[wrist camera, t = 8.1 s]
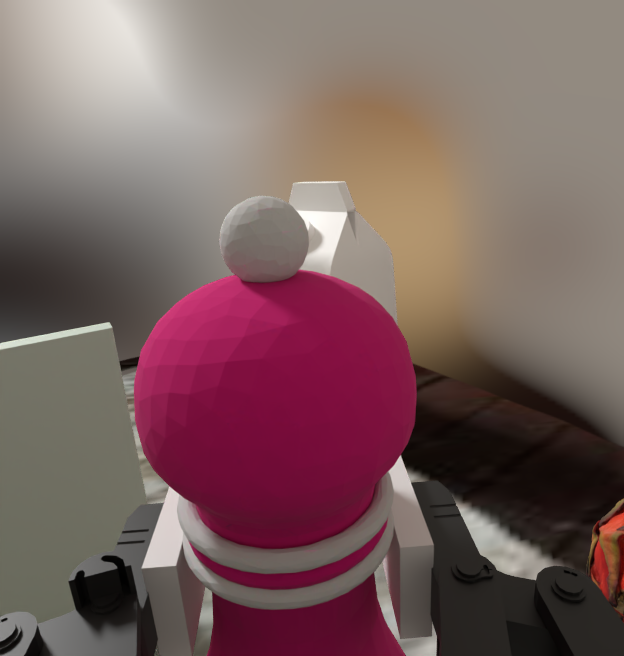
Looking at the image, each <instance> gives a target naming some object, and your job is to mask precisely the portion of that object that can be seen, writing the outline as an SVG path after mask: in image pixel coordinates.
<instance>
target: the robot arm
mask: <svg viewBox="0 0 624 656" xmlns="http://www.w3.org/2000/svg"><path fill="white" fill-rule="evenodd" d="M388 472H389V474H390V476H391V480H392V484H393V489H394V497H393V503H392V507H391V508H392V513H393V517H394V533H393V538H392V542H391V545H390V548H389V550H388V552H387V554H386V556H385V558H384V560H383V561H382V562H383V566H384V570H385V574H386V579H387V583H388V587H389V592H390V596H391V600H392V605H393V609H394V613H395V618H396V622H397V626H398V630H399V635H400V639H405V638H417V637H429V636H432V622H433V625H434V628H435V632H436V635H437V656H624V623H623V622H622V620H621V619H620V617H619V616H618V614H617V613H616V612H615V610H614V609H613V607H612V606H611V604H610V603H609V601H608V600H607V599H606V597H605V596H604V594H603V593H602V591H601V590H600V588H599V587H598V586H597V585H596V584H595V583H594V582H593V581H592V580H591V579H590V578H589V577H588V576H586V575H584V574H583V573H581V572H580V571H577V570H574V569H571V568H568V567H562V566H552V567H548V568H544V569H543V570H542V571H541V572H539V573H538V575H537V579H536V580H530V579H525V578H519V577H514V576H510V575H507V574H504V573H502V572H499V571H497V570H496V568H495V566H494V565H493V564H492V563H491V562H490V561H489V560H488V559H487V558H485V557H483V556H481V555H480V554H479V551H478V549H477V547H476V545H475V543H474V541H473V539H472V537H471V535H470V533H469V530H468V528H467V526H466V524H465V522H464V520H463V518H462V516H461V514H460V512H459V509H458V507H457V506H456V503H455V501H454V499H453V497H452V495H451V493H450V491H449V490H448V489H447V488H446V487H444V486H443V485H442V484H441V483H440V482H439V481H426V482H413V483H411V482H410V479H409V476H408V474H407V471H406V468H405V466H404V463H403V460H402V458H401V455H400V457H399V458H398V460H397V462H396V463H395V465H394V466H393V467H392V468H391V469H390V470H389V471H388ZM178 499H179V494H178V493H177V492H176V491H174V490H173V489H172V488H171V487H169V490H168V493H167V496H166V499H165V501H164V503H158V504H145V505H140V506H139V507H138V508H137V509H136V510H135V511H134V512H133V513H132V514H131V515H130V516H129V517H128V518H127V521H126V523H125V525H124V528H123V530H122V534H121V535H120V537H119V539H118V542H117V545H116V546H115V549H114V551H110V552H102V553H99V554H97V555H94V556H91V557H89V558H88V559H86V560H85V561H83V562H82V563H80V564H79V565H78V566H77V567H76V568H75V569H74V571H73V572H72V573H71V576H70V578H69V580H68V582H69V586H70V590H71V594H72V597H73V601H74V605H75V608H76V609H75V610H73V611H72V612H69V613H67V614H65V615H62V616H59V617H56V618H53V619H51V620H48V621H45V622H42V623H39V624H37V621H36V618H35V616H33V615H32V614H30V613H29V612H19V611H18V612H13V613H9V614H5V615H3V616H1V617H0V656H154V653H155V649H156V645H157V646H158V651H159V655H160V656H193V650H194V645H195V639H196V634H197V629H198V623H199V618H200V612H201V607H202V601H203V596H204V591H205V586H204V585H203V584H202V583H201V582H200V581H199V579H198V578H197V577H196V576H195V574H194V573H193V572H192V570H191V569H190V567H189V566H188V563H187V561H186V558H185V554H184V549H183V531H182V529H181V526H180V523H179V520H178V514H177V505H178Z"/></svg>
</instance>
